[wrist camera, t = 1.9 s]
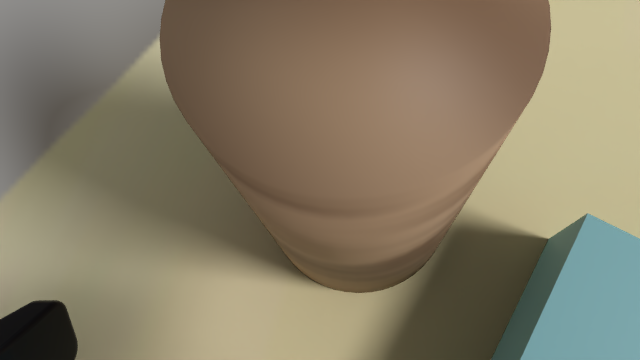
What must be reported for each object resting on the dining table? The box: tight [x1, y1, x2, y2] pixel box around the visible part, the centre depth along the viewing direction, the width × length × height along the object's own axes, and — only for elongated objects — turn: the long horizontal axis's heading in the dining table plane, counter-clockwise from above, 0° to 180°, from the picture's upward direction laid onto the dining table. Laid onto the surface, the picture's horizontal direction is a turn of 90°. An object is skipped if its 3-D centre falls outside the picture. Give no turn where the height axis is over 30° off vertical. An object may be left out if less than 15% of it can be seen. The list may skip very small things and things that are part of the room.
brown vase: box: [160, 0, 551, 293], centre depth 15 cm, size 7×7×12 cm
